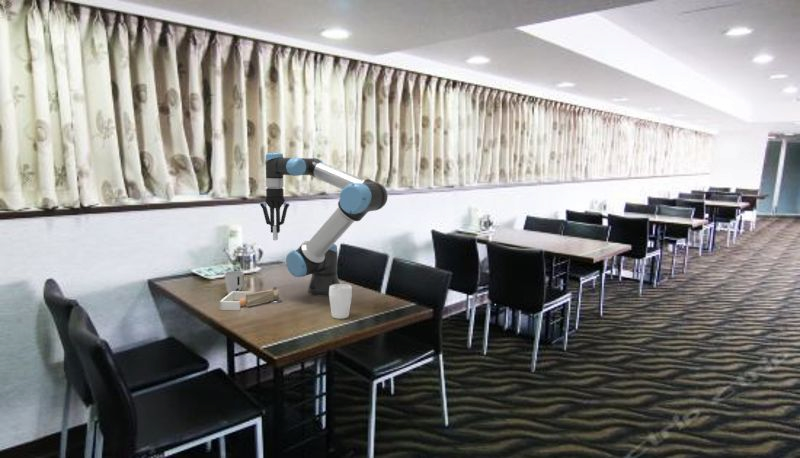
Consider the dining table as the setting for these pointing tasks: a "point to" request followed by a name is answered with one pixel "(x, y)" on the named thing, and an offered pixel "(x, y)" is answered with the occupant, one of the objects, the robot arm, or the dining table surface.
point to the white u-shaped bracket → (228, 301)
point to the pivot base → (275, 301)
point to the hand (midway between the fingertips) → (275, 239)
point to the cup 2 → (340, 300)
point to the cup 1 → (234, 281)
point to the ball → (242, 302)
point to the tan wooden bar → (262, 296)
